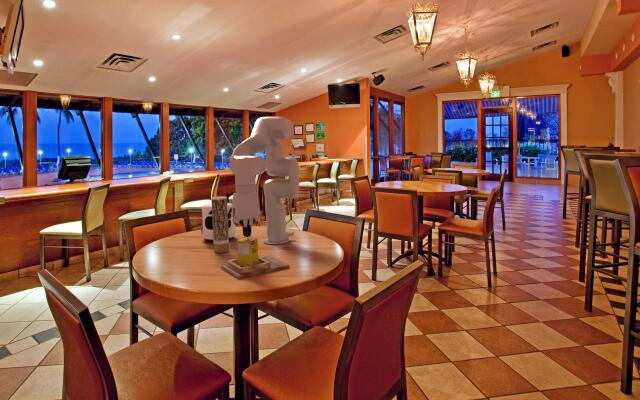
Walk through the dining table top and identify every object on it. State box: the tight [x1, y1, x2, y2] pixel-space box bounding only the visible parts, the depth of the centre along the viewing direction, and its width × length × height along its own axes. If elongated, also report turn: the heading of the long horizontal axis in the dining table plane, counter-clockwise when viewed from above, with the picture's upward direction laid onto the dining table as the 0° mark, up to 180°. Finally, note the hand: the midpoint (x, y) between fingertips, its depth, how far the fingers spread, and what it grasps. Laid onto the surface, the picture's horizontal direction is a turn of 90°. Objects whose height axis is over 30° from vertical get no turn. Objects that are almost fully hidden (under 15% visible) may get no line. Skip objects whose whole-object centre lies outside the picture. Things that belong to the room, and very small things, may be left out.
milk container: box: [200, 202, 237, 242], centre depth 204 cm, size 17×17×18 cm
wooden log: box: [211, 196, 230, 254], centre depth 181 cm, size 7×7×25 cm
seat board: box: [220, 255, 290, 280], centre depth 157 cm, size 22×16×3 cm
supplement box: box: [236, 236, 259, 267], centre depth 155 cm, size 6×6×11 cm
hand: (247, 236), depth 154 cm, fingers closed
